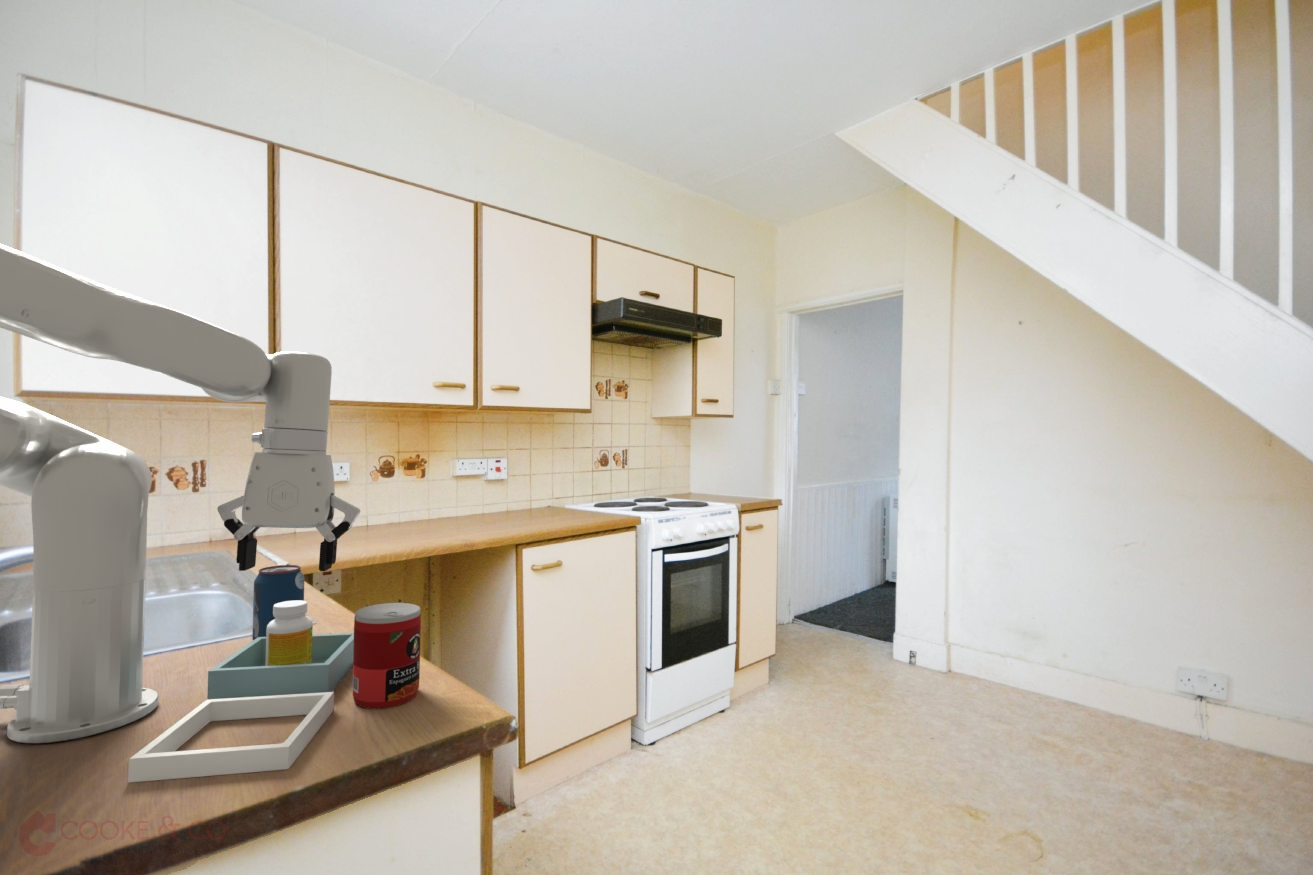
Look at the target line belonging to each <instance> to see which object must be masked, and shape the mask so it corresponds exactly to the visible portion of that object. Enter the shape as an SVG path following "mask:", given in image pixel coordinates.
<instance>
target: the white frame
mask: <svg viewBox="0 0 1313 875" xmlns="http://www.w3.org/2000/svg"><path fill="white" fill-rule="evenodd" d="M334 706H335V691H332V692H322V693H306V694H289V695H273V696H256V697H240V698H224V699H205V700H204V701H203V702H202V703H200V704H199V705H198V706H196V707H195V708H194V709H192V710H191V711H190V712H188V713H187V714H186V715H185V716H183V717H182V718H181V719H180V720H178V721H177V722H175V723H174V724H173V725H172V726H170V727H169V728H167V729H166V730H165V731H164V732H162V733H161V734H160V735H158V736H157V737H156V738H155V739H153V740H152V741H151V742H149V743H148V744H147V745H145V746H144V747H143V748H141V749H140V750H139V751H137V752H136V753H135V754H134V755H132V756H131V757H129V759H128V760H129V761H128V782H127V783H140V782H151V781H161V780H162V781H163V780H174V779H187V778H189V779H190V778H198V777H209V776H211V777H212V776H222V775H235V774H248V773H257V772H258V773H259V772H273V771H282V770H289V769H290V767H291V766H292V765H293V764H294V762H295V761H296V760H297V759H298V757H299V756H300V754H301V753H302V752H303V751H304V749H305V748H306V747H307V746H308V744H309V743H310V742H311V741H312V739H313V738H314V737H315V735H316V734H317V732H318V731H320V729H321V727H322V726H323V725H324V723H325V722H327V720H328V719H329V717H330V716H331V714H332V713H334V711H335V710H334V709H335V707H334ZM304 715H305V717H304V718H303V719H302V721H301V722H300V723H299V724H298V725H297V727H296V728H295V729H294V730H293V731H292V732H291V733H290V735H289V736H288V737H287V738H286V740H284V742H283V743H272V744H271V743H270V744H269V743H268V744H257V745H255V744H254V745H245V746H231V747H230V746H229V747H218V748H217V747H215V748H204V749H203V748H202V749H191V750H190V749H189V750H179V748H180V747H182V745H184V744H185V743H186V742H187V741H189V740H190V739H191V738H192V737H194V736H195V735H196V734H197V733H198V732H200V731H201V730H202V729H203V728H204V727H206V726H207V725H208V724H209V723H210V722H218V721H233V720H246V719H247V720H248V719H249V720H250V719H260V718H261V719H263V718H278V717H290V716H291V717H292V716H293V717H295V716H304Z"/></svg>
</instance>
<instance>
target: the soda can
mask: <svg viewBox="0 0 1313 875" xmlns="http://www.w3.org/2000/svg"><path fill="white" fill-rule="evenodd" d="M252 598H253V600H252V601H253V604H252V606H253V607H252V634H251V636H252V637H251V640H252V641H253V640H255V639H256V638H258V637H266V630H267V625H268V624H269V623H270V622H271V621H272V620H274V619H275V617H274V616H273V606H274V604H277V603H280V602H284V601H293V600H302V601H305V576H304V574H303V572H302V568H301V566H300V565H297V564H295V565H294V564H293V565H292V564H290V565H289V564H288V565H287V564H283V565H271V566H266V567H262V568H260V569H259V570H258V574H257V575H256V577H255V579H254V581H253V597H252Z"/></svg>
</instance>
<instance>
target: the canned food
mask: <svg viewBox="0 0 1313 875" xmlns="http://www.w3.org/2000/svg"><path fill="white" fill-rule="evenodd" d="M421 620H422V612H421V607H420V606H419V605H417V604H414V603H409V602H408V603H407V602H388V603H385V602H384V603H378V604H373V605H368V606H365V607H362V608H360V609H357V610H356V611H355V612H354V620H353V633H354V650H353V667H352V698H353V701H354V703H355V704H356V705H357V706H359V707H362V708H365V709H376V710H377V709H387V708H388V709H389V708H393V707H397V706H401V705H403V704H404V705H405V704H407V703H408V702H410V701H411V700H413V699H414V698H416V696H417V695H418V691H419V688H420V669H421V667H420V665H421V664H420V663H421V637H422V636H421V634H422V633H421V629H422V628H421V627H422V626H421V625H422V621H421Z"/></svg>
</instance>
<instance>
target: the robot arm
mask: <svg viewBox="0 0 1313 875" xmlns="http://www.w3.org/2000/svg"><path fill="white" fill-rule="evenodd" d="M0 328H1V329H3V330H6V331H9V332H12V333H15V334H18V335H20V336H21V335H22V336H24V337H26V338H30V339H33V340H36V341H38V342H42V343H44V344H47V345H50V346H53V347H56V348H58V349H62V350H64V351H66V352H69V353H73V354H76V355H80V356H84V357H87V358H92V359H98V360H100V359H101V360H110V361H117V362H121V363H126V364H129V365H132V366H134V367H135V366H136V367H139V368H143V369H146V370H150V371H152V372H155V373H159V374H161V375H164V376H167V377H170V378H173V379H176V380H178V381H180V382H184V383H187V384H190V385H191V386H195V387H198V388H200V389H202V391H203V392H204V393H205V394H206V395H208V396H210V397H212V399H215V400H217V401H220V402H225V403H260V402H261V403H265V409H264V410H265V411H264V424H263V425H264V426H263V428H262V429H261V432H254V433H252V436H251V442H252V443H253V444H259V445H260V448H261V449H262V450H261V452H259V451H255V452H254V454H253V457H252V460H251V462H250V466H249V471H248V474H247V479H246V482H245V488H244V493H243V495H242V496H239V497H237V498H235V499H232V500H230V501H227V502H225V503H222V504H220V505H218V506H217V512H218V514H219V516H220V518H221V520H222V522H223V526H224V527H225V528H226V529H227V530H228V531H229V532H230V533H231V534H232V535H233V539H234V540H236V541H237V547H236V548H237V550H236V559H235V560H236V564H238V571H239V572H245V571H247V570H249V569H253V568H254V567H256V563H257V551H258V550H257V549H258V547H257V546H258V539H257V537H254V535H255V534H256V533H257V532H258V531H259V530H260V529H261V528H272V529H273V528H274V529H275V528H276V529H277V528H279V529H281V528H283V529H312V528H314V529H316V530H317V531H318V533H320V535H321V536H322V537H323V541H321V542H320V547H319V562H318V571H320V572H326V571H328V570H330V569H332V566H333V565H334V564H335V563H336V561H337V549H338V540H339V539H340V538H341V537H342V536H343V535H344V534H346V533H347V532H348V531H349V530H350V529H351V528H352V527H353V524H354V523H355V522H356V521H357V518H358V517H359V515H360V513H361V509H360V508H359V507H357V506H355V505H353V504H351V503H349V502H347V501H345V500H343V499H342V498H340V497H339V496H338V497H337V496H336V495H335V493H336V492H335V491H336V490H335V474H334V467H333V466H334V465H333V459H332V455H331V454H327V449H328V448H327V444H328V431H329V430H328V428H329V418H330V416H329V414H330V401H331V386H332V374H333V373H332V372H333V371H332V370H333V368H332V364H331V362H330V360H329V359H328V358H325V357H324V356H321V355H317V354H313V353H309V352H303V351H302V352H301V351H280V352H279V351H278V352H275V353H273V354H269V353H268V354H267V353H266V352H265V351H264V350H263V349H262V348H261V347H260V346H258V345H257V344H256V343H255V342H254V341H251V340H250V339H247V338H246V337H243V336H242V335H239V334H237V333H234V332H232V331H230V330H227V329H224V328H222V327H220V326H217V325H214V324H212V323H210V322H208V321H204V320H202V319H200V318H197V317H196V316H193V315H190V314H187V313H185V312H181V311H179V310H177V309H173V308H171V307H167V306H165V305H162V304H158V303H155V302H152V301H149V300H146V299H143V298H141V297H139V296H135V295H133V294H130V293H127V292H124V291H121V290H117V289H116V288H112V287H110V286H107V285H104V284H103V283H102V284H101V283H99V282H97V281H94V280H92V279H90V278H87V277H84V276H82V275H79V274H76V273H74V272H71V271H68V270H66V269H64V268H62V267H59V266H56V265H54V264H51V263H50V262H46V261H45V260H41V259H39V258H37V257H34V256H32V255H30V254H27V253H25V252H23V251H20V250H18V249H14V248H12V247H9V246H7V245H4V244H2V243H0ZM151 472H152V471H151V470H150V467H149V465H148V464H147V462H146V461H145V460H144V459H143V458H142V457H141V456H140V455H139V454H138V453H136V452H134V451H133V450H131V449H129V448H127V447H124V446H123V445H120V444H118V443H115V442H113V441H111V440H109V439H106V438H104V437H102V436H99V435H97V434H94V433H93V432H90V431H88V430H85V429H84V428H81V427H79V426H77V425H75V424H72V423H69V422H67V421H65V420H63V419H61V418H59V417H56V416H55V415H52V414H49V413H47V412H45V411H43V410H41V409H38V408H37V407H33V406H31V405H29V404H27V403H24V402H21V401H18V400H15V399H11V398H7V397H4V396H0V486H2V487H4V488H7V489H9V490H13V491H16V492H18V493H20V494H23V495H26V496H28V497H30V499H31V501H30V502H31V504H30V506H31V507H30V508H31V523H32V524H31V526H32V540H33V541H32V543H33V545H32V546H33V548H32V549H33V554H32V555H33V562H32V564H33V565H32V567H33V569H32V607H31V608H32V609H31V610H32V612H31V633H30V634H31V637H30V660H29V661H30V662H29V664H30V666H29V684H20V683H19V684H5V685H1V686H0V710H5V709H13V708H14V710H16V711H15V713H16V715H15V717H14V718H12V719H11V721H10V722H8V724H7V727H6V730H7V732H6V737H7V738H8V739H10V740H11V741H13V742H17V743H22V744H45V743H57V742H64V741H69V740H70V741H71V740H75V739H82V738H85V737H89V736H95V735H97V734H101V733H105V732H109V731H112V730H114V729H117V728H120V727H123V726H126V725H128V724H130V723H132V722H136V721H137V720H140V719H142V718H143V717H145V716H147V715H148V714H150V713H151V712H153V711H154V710H155V709H156V708H157V706H158V705H159V698H160V696H159V693H158V692H157V691H156V690H154V689H151V688H149V687H148V688H147V687H143V680H144V679H143V677H144V676H143V675H144V674H143V673H144V649H145V648H144V645H145V644H144V643H145V619H146V618H145V610H146V585H147V584H146V583H147V582H146V580H147V578H146V577H147V576H146V575H147V574H146V573H147V571H146V570H147V537H148V536H147V534H148V529H147V528H148V527H147V526H148V507H149V506H148V505H149V494H150V491H151V488H152V482H153V478H152V473H151ZM240 508H242V509H241V520H242V521H241V520H240V519H239V518H238V517H237V514H236V511H237V510H238V509H240ZM335 510H338V511H340V512H342V513H343V514H344V518H343V519H342V521H341V522H340V523H339V524H337V525H335V524H334V523H333V519H334V515H335Z"/></svg>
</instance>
